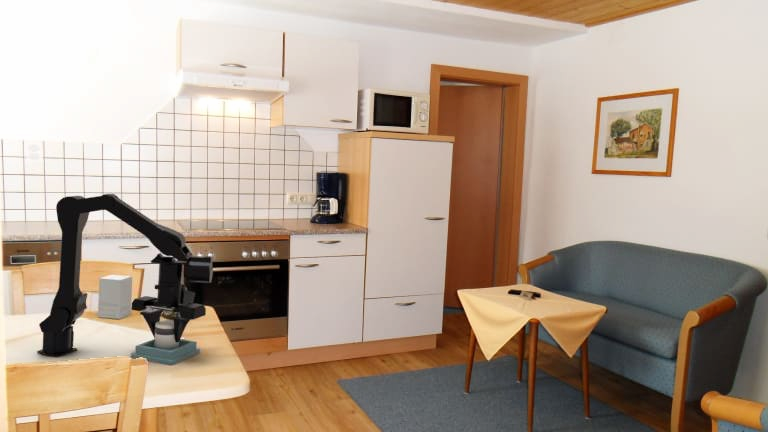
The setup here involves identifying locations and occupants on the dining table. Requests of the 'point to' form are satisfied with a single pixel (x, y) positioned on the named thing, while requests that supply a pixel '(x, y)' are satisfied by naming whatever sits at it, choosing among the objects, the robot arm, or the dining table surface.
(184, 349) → the square tray
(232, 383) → the dining table surface
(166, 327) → the lens
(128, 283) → the supplement box
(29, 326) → the dining table surface
